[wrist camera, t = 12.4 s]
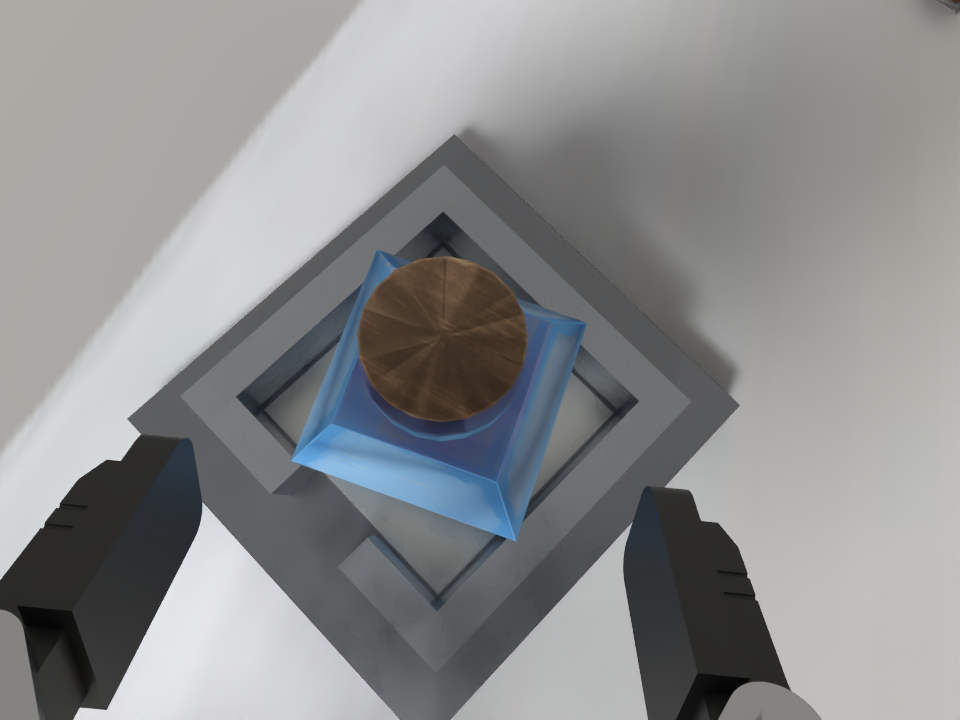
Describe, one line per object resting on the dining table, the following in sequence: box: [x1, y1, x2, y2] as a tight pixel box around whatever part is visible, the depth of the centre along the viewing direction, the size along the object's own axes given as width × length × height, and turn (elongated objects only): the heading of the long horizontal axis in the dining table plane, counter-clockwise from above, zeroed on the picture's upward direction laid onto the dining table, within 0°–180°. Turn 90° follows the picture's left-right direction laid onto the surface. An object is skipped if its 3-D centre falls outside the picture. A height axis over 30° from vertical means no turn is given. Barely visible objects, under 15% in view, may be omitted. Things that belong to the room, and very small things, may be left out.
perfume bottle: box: [291, 250, 587, 541], centre depth 19 cm, size 6×6×12 cm
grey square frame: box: [128, 135, 740, 720], centre depth 24 cm, size 16×15×4 cm
